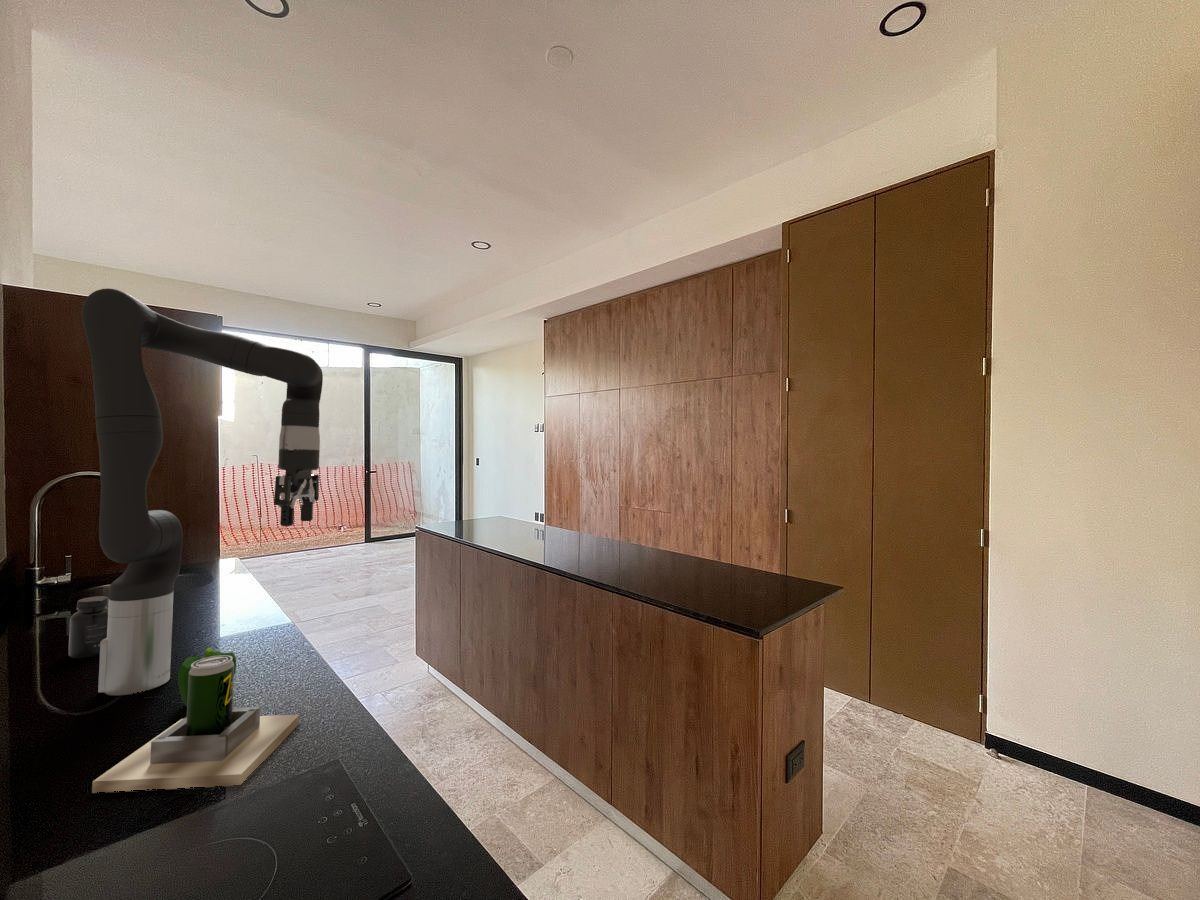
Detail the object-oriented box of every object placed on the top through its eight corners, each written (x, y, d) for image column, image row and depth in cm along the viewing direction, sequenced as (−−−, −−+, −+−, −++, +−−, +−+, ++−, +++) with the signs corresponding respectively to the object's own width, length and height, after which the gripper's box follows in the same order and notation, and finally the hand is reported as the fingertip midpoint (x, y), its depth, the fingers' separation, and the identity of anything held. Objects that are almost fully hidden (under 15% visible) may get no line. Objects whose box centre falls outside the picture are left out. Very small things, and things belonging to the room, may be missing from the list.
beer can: (182, 758, 70) (186, 671, 70) (187, 740, 74) (191, 659, 75) (230, 746, 73) (233, 663, 73) (232, 730, 77) (235, 652, 78)
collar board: (92, 793, 65) (93, 757, 65) (181, 728, 81) (182, 699, 81) (240, 785, 67) (241, 751, 67) (299, 723, 83) (300, 696, 83)
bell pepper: (185, 696, 91) (187, 641, 92) (239, 688, 95) (241, 635, 95) (167, 717, 84) (169, 657, 84) (226, 709, 87) (228, 651, 87)
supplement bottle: (61, 655, 109) (64, 600, 109) (102, 645, 115) (104, 593, 115) (78, 661, 106) (80, 604, 107) (118, 650, 113) (121, 596, 113)
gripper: (297, 448, 114) (295, 519, 113) (262, 446, 100) (259, 527, 99) (332, 449, 115) (329, 519, 114) (302, 447, 101) (299, 527, 100)
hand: (297, 523), depth 107 cm, fingers open, 8 cm apart
